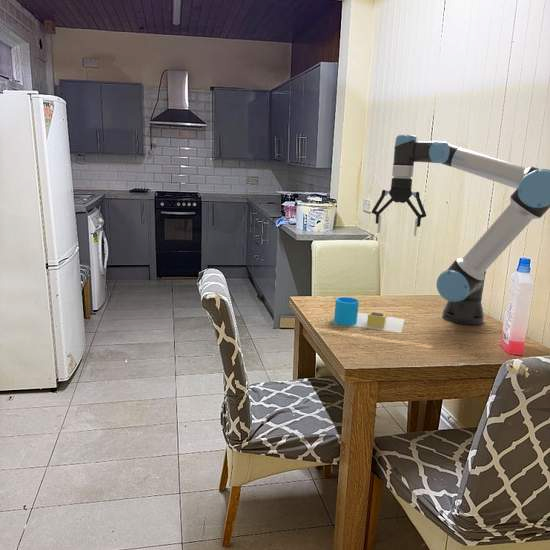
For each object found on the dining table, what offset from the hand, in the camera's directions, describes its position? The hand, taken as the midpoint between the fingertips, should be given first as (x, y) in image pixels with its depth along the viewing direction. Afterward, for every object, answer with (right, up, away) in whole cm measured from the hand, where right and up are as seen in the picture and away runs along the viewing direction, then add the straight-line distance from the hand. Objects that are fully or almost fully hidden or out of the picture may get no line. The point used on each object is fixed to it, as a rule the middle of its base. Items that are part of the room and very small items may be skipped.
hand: (396, 233), depth 195 cm
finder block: (-10, -34, -13) cm, 37 cm away
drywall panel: (-12, -34, -9) cm, 37 cm away
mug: (-20, -33, -10) cm, 40 cm away
